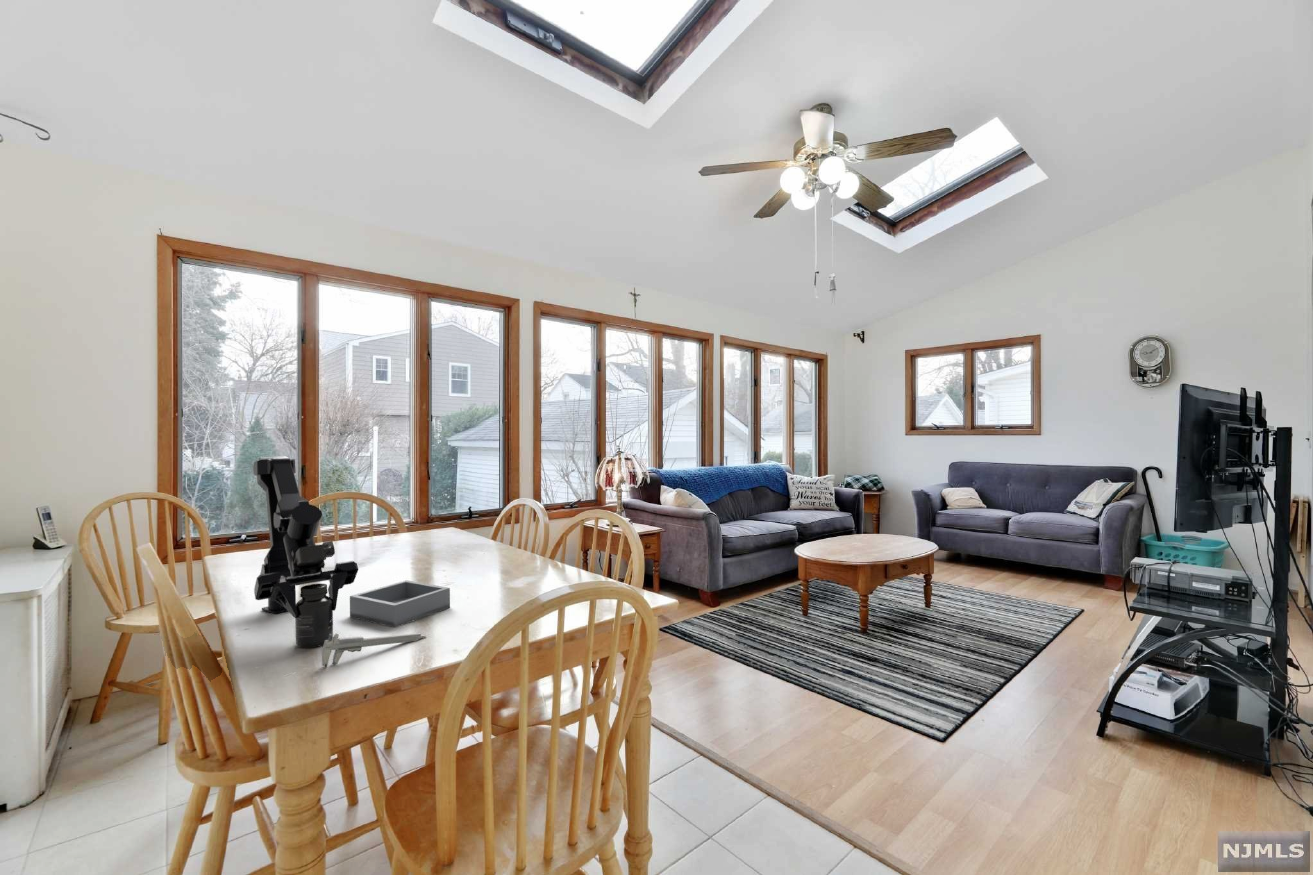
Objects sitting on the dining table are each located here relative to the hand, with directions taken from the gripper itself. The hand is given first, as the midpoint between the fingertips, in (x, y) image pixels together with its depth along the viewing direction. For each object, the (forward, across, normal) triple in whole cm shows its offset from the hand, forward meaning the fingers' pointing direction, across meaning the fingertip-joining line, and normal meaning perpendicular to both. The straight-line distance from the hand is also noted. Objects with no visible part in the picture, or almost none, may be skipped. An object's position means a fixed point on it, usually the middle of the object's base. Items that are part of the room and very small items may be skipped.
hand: (315, 613), depth 119 cm
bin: (-2, +21, +11) cm, 23 cm away
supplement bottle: (+4, 0, +6) cm, 7 cm away
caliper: (+14, +8, -4) cm, 17 cm away
